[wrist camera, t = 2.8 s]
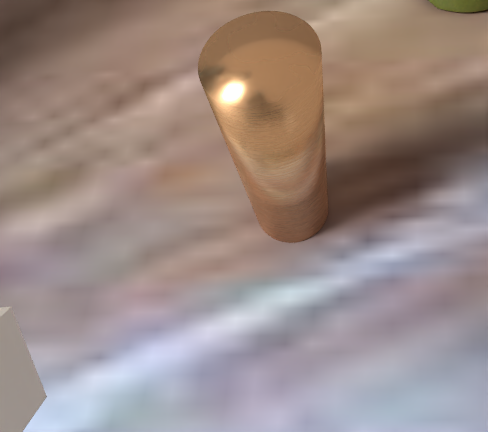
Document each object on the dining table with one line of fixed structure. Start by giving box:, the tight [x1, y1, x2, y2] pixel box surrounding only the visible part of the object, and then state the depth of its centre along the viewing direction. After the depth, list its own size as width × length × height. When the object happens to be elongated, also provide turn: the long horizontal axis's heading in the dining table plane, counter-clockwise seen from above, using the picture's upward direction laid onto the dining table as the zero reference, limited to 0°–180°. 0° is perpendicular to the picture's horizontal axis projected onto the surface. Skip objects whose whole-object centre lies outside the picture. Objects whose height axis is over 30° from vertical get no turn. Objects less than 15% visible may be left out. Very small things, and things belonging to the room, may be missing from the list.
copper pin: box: [198, 11, 328, 243], centre depth 20 cm, size 4×4×12 cm
